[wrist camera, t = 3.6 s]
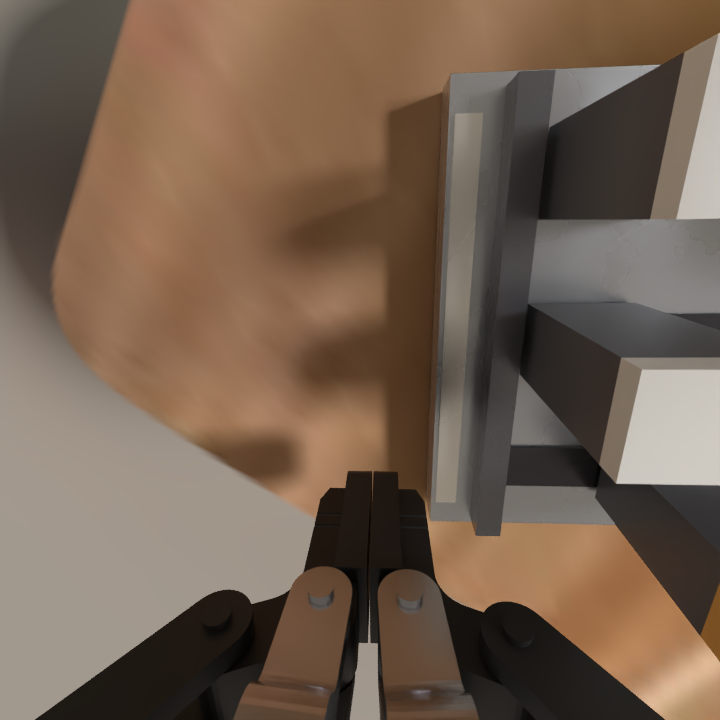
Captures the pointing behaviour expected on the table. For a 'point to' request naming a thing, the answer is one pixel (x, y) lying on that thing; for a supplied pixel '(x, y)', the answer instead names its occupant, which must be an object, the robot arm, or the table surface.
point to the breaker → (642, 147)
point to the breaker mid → (630, 387)
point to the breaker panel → (530, 296)
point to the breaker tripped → (674, 543)
